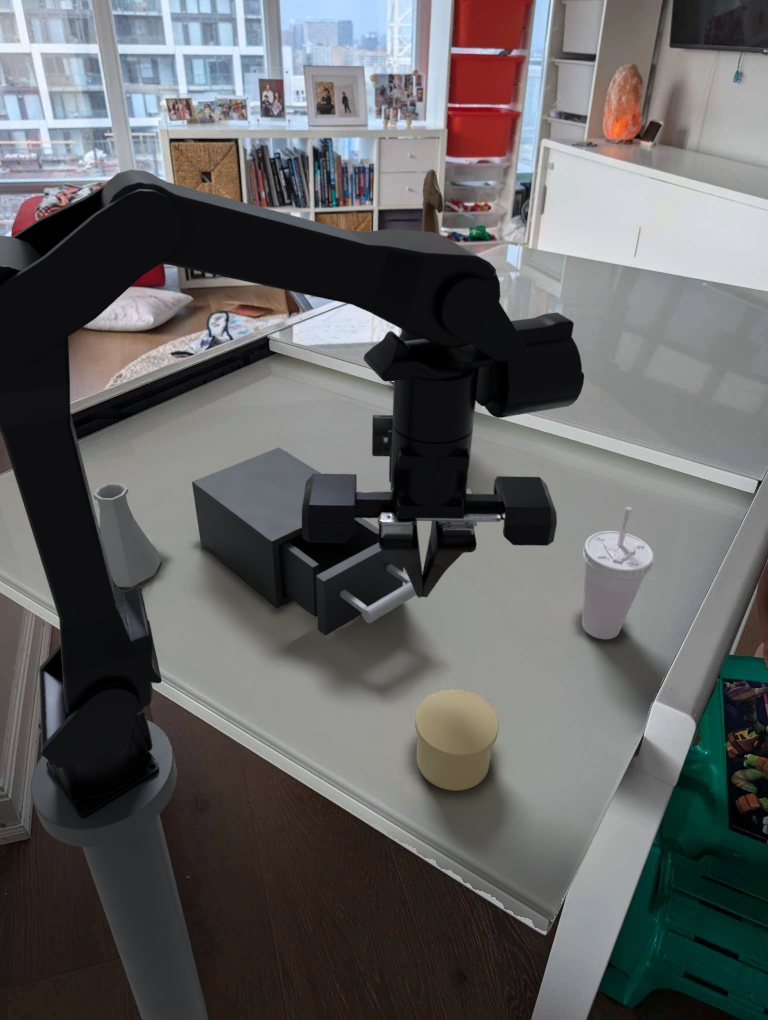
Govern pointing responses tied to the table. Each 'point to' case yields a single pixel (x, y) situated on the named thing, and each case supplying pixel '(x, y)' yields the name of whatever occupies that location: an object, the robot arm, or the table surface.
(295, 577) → the drawer
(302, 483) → the mini filing cabinet
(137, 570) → the flask
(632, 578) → the smoothie
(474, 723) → the beige short cylinder
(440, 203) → the bird sculpture
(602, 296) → the table surface
